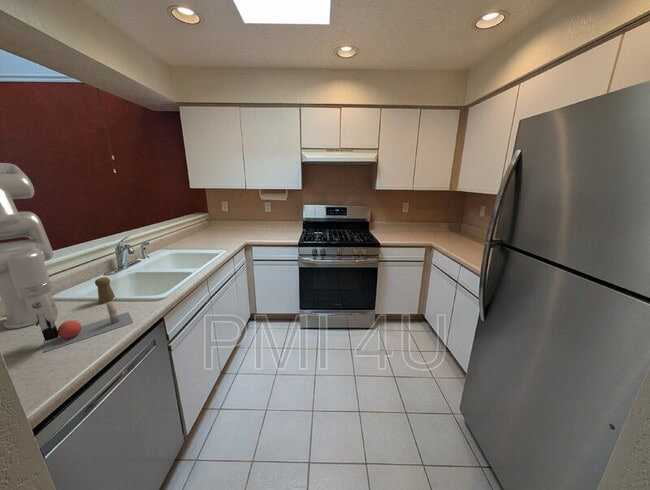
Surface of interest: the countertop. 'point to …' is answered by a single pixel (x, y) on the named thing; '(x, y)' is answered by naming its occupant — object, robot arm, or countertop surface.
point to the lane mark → (89, 331)
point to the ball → (69, 329)
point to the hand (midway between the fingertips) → (52, 338)
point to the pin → (112, 312)
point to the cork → (104, 290)
